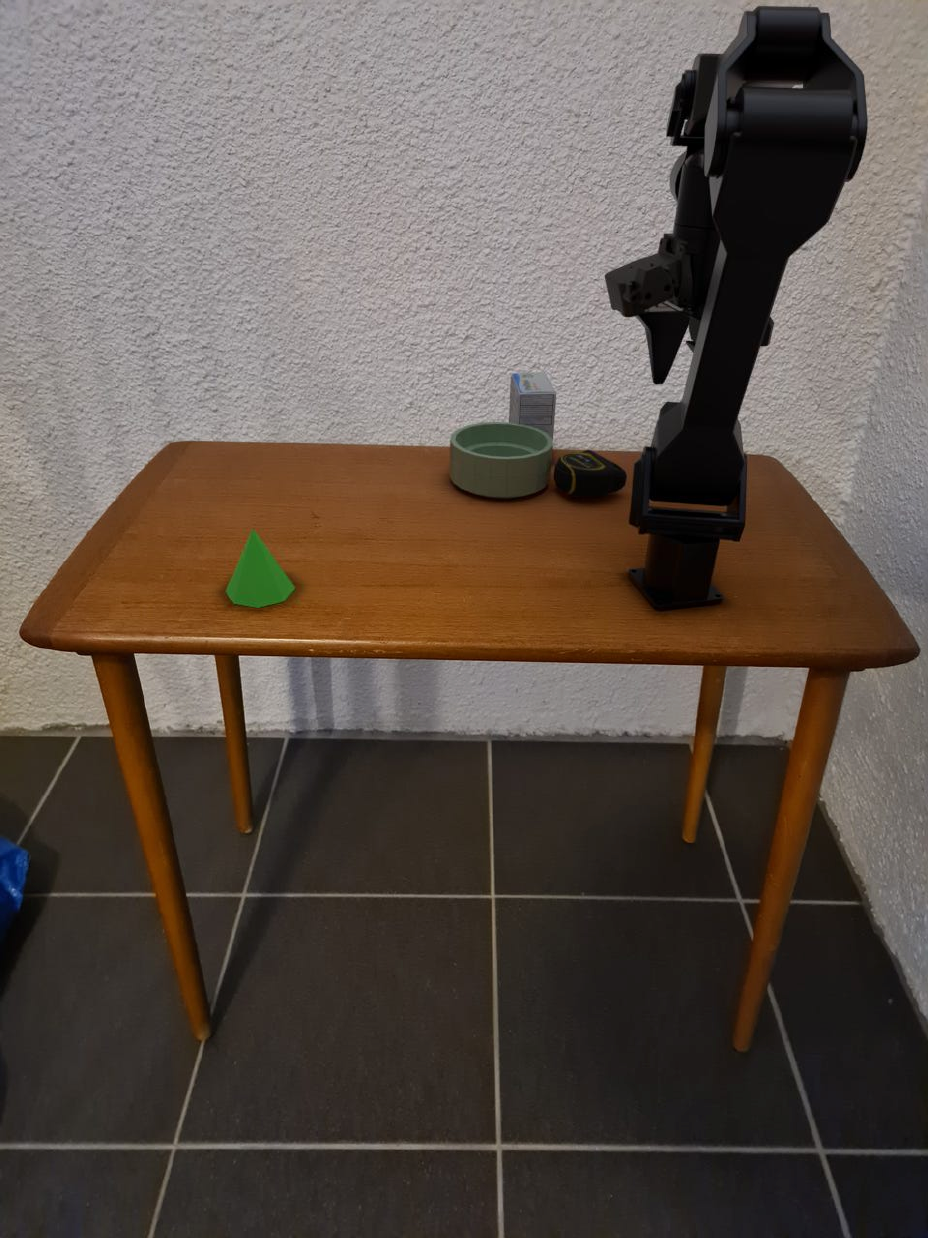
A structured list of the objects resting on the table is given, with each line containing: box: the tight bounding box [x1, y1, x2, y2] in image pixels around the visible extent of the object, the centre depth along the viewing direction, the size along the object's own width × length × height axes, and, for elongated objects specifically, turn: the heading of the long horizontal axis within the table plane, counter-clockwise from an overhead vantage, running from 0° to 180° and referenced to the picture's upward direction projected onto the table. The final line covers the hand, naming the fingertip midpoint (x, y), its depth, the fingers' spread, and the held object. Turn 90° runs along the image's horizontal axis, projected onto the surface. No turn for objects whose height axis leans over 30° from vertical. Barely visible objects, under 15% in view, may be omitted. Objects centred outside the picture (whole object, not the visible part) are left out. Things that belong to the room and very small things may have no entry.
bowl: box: [449, 421, 554, 499], centre depth 92 cm, size 11×11×5 cm
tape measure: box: [553, 449, 628, 499], centre depth 90 cm, size 7×7×4 cm
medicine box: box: [508, 371, 557, 440], centre depth 99 cm, size 8×4×9 cm, turn 4°
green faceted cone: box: [225, 528, 296, 609], centre depth 71 cm, size 6×6×6 cm
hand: (677, 397), depth 82 cm, fingers open, 9 cm apart
